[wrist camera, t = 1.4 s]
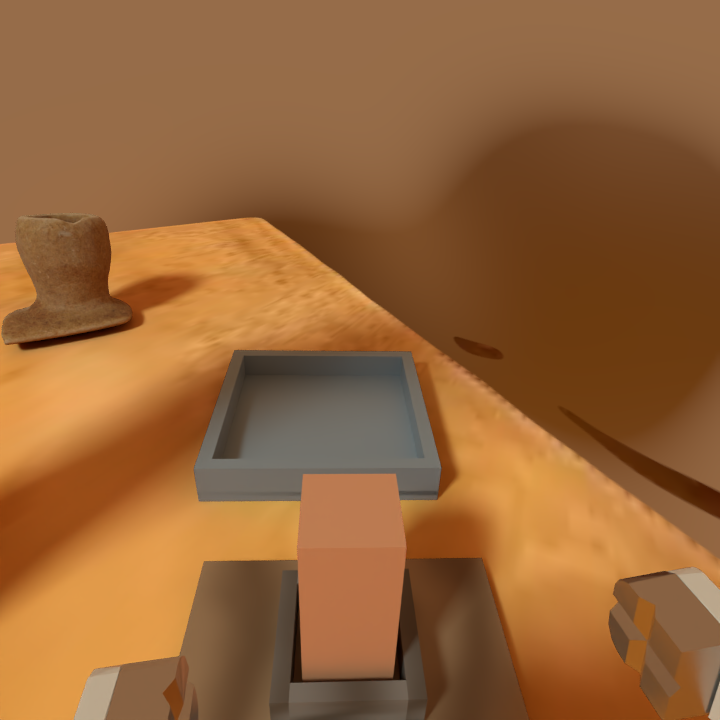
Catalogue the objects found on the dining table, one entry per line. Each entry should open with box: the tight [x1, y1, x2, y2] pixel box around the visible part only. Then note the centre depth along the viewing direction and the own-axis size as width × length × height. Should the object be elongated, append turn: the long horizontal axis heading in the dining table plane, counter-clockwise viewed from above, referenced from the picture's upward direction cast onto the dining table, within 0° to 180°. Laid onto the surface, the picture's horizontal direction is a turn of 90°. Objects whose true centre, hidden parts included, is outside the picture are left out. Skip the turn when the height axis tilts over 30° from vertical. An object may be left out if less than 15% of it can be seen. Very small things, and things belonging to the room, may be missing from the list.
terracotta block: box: [297, 474, 407, 683], centre depth 30 cm, size 5×5×12 cm
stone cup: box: [2, 213, 132, 345], centre depth 68 cm, size 15×12×15 cm
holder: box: [179, 558, 529, 720], centre depth 32 cm, size 20×14×4 cm
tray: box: [194, 350, 441, 501], centre depth 53 cm, size 20×20×4 cm
